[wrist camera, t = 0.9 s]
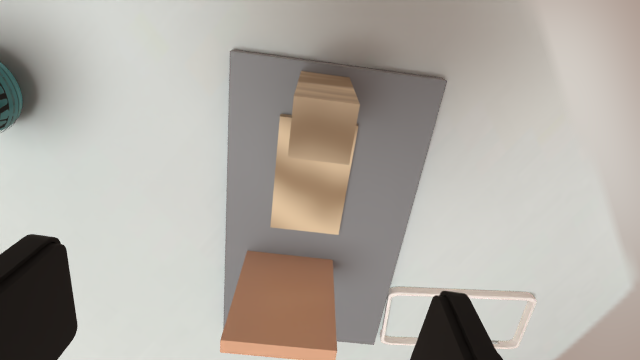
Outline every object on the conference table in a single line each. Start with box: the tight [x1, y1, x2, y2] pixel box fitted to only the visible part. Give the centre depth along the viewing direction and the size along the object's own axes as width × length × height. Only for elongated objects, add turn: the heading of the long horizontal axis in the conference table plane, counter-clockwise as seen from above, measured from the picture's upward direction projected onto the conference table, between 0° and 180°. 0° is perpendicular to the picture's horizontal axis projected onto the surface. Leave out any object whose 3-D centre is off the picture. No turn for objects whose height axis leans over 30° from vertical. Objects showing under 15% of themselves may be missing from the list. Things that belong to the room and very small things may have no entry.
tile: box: [220, 251, 337, 360], centre depth 30 cm, size 1×8×10 cm, turn 83°
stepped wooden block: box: [270, 71, 360, 235], centre depth 26 cm, size 13×6×8 cm, turn 173°
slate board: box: [224, 50, 447, 345], centre depth 33 cm, size 28×16×1 cm, turn 173°
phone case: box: [380, 287, 537, 349], centre depth 39 cm, size 7×1×15 cm
